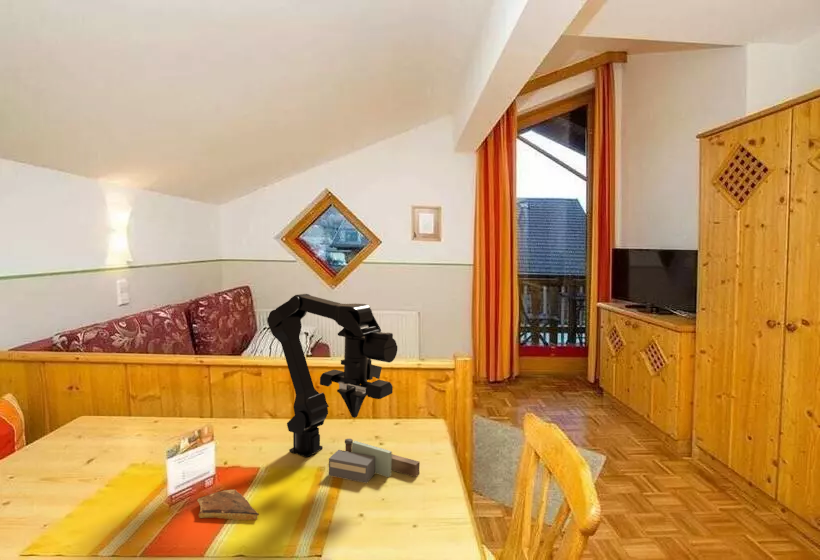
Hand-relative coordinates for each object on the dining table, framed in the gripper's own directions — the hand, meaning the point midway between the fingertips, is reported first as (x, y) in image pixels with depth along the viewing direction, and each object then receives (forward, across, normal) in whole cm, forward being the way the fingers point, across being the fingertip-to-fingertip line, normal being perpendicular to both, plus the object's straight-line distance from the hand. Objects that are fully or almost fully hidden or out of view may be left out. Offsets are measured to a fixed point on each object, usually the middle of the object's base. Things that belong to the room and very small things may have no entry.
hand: (354, 417), depth 116 cm
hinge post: (+13, +2, -1) cm, 13 cm away
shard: (+14, +10, +28) cm, 33 cm away
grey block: (+13, -2, +3) cm, 14 cm away
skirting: (+13, -7, -5) cm, 15 cm away
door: (+13, -5, -1) cm, 14 cm away
